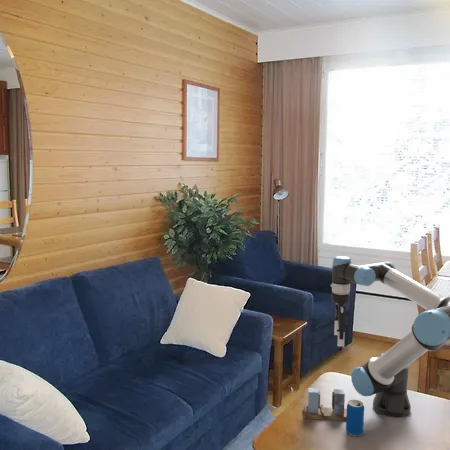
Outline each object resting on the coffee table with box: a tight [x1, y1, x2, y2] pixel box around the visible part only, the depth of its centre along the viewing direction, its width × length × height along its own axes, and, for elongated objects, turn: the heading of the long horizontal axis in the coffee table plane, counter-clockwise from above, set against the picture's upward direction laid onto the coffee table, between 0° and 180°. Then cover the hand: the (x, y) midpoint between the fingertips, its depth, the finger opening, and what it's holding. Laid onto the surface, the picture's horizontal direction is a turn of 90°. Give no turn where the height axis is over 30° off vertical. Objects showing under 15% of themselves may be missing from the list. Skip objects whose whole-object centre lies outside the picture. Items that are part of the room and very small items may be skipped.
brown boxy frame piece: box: [303, 388, 347, 422], centre depth 209 cm, size 18×7×10 cm, turn 84°
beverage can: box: [345, 399, 365, 437], centre depth 196 cm, size 6×6×12 cm
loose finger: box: [307, 387, 321, 413], centre depth 210 cm, size 5×4×9 cm
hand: (339, 340), depth 220 cm, fingers open, 13 cm apart
